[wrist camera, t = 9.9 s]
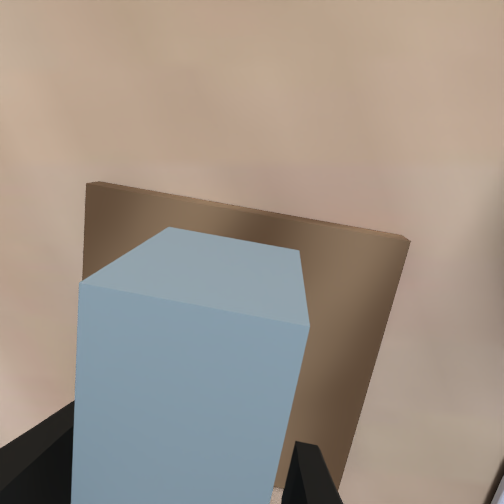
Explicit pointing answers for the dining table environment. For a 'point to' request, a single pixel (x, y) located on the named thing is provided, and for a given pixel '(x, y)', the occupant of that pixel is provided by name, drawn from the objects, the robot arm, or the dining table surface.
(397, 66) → the dining table surface
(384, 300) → the peg stand
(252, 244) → the light blue rectangular block
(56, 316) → the dining table surface
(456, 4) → the dining table surface
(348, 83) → the dining table surface
